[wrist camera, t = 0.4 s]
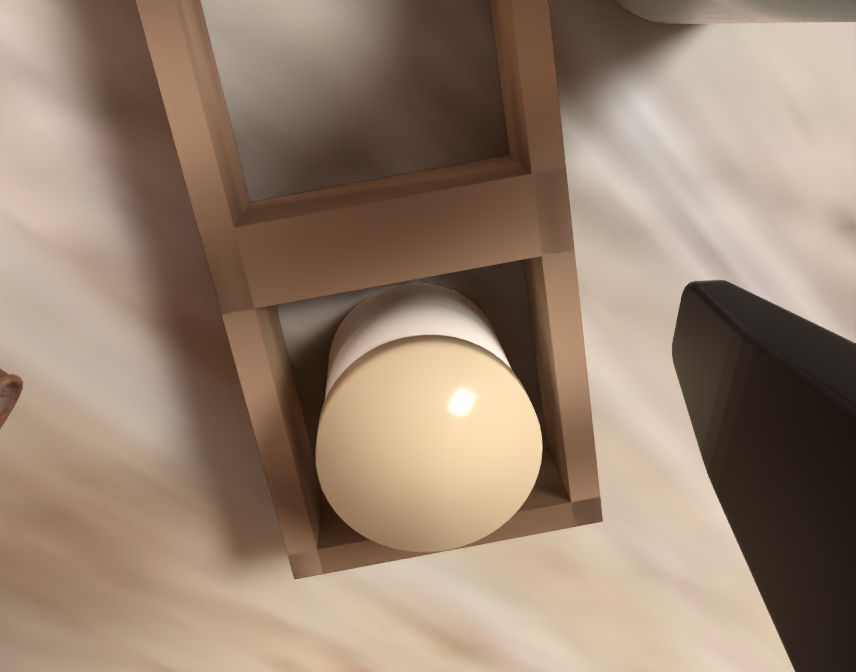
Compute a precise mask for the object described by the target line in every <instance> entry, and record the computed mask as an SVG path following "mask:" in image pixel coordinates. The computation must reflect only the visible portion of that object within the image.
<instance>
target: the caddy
mask: <svg viewBox="0 0 856 672" xmlns="http://www.w3.org/2000/svg"><path fill="white" fill-rule="evenodd" d="M135 1H136V4H137V8H138V11H139V15H140V19H141V22H142V26H143V30H144V33H145V37H146V41H147V44H148V48H149V52H150V55H151V59H152V62H153V66H154V70H155V73H156V77H157V81H158V84H159V88H160V92H161V95H162V99H163V103H164V106H165V110H166V113H167V117H168V121H169V124H170V128H171V132H172V135H173V139H174V143H175V146H176V150H177V154H178V157H179V161H180V164H181V168H182V172H183V175H184V179H185V183H186V186H187V190H188V194H189V197H190V201H191V205H192V208H193V212H194V215H195V219H196V223H197V226H198V230H199V234H200V237H201V241H202V245H203V248H204V252H205V256H206V259H207V263H208V266H209V270H210V274H211V277H212V281H213V285H214V288H215V292H216V296H217V299H218V303H219V306H220V310H221V314H222V317H223V321H224V325H225V328H226V332H227V336H228V339H229V343H230V347H231V350H232V354H233V357H234V361H235V365H236V368H237V372H238V376H239V379H240V383H241V387H242V390H243V394H244V398H245V401H246V405H247V408H248V412H249V416H250V419H251V423H252V427H253V430H254V434H255V438H256V441H257V445H258V449H259V452H260V456H261V459H262V463H263V467H264V470H265V474H266V478H267V481H268V485H269V489H270V492H271V496H272V500H273V503H274V507H275V510H276V514H277V518H278V521H279V525H280V529H281V532H282V536H283V540H284V543H285V547H286V551H287V554H288V558H289V561H290V565H291V569H292V572H293V576H294V579H299V578H305V577H310V576H315V575H321V574H326V573H331V572H337V571H342V570H347V569H353V568H358V567H363V566H369V565H374V564H379V563H384V562H390V561H395V560H400V559H406V558H411V557H416V556H422V555H427V554H432V553H438V552H443V551H436V552H413V551H404V550H399V549H394V548H390V547H387V546H384V545H381V544H378V543H376V542H374V541H372V540H370V539H368V538H366V537H364V536H363V535H361V534H360V533H358V532H356V531H355V530H354V529H352V528H351V527H350V526H349V525H348V524H346V523H345V522H344V521H343V520H342V519H341V518H340V516H339V515H338V514H337V513H336V512H335V511H334V509H333V508H332V506H331V505H330V503H329V502H328V500H327V498H326V496H325V494H324V492H323V491H322V490H321V486H320V482H319V478H318V474H317V470H316V466H315V462H314V458H313V454H312V449H311V445H310V441H309V437H308V433H307V429H306V425H305V421H304V417H303V413H302V409H301V405H300V401H299V397H298V393H297V389H296V385H295V381H294V377H293V373H292V369H291V365H290V361H289V357H288V353H287V349H286V345H285V341H284V337H283V333H282V328H281V324H280V320H279V316H278V312H277V308H276V305H278V304H283V303H288V302H294V301H299V300H305V299H310V298H316V297H321V296H327V295H332V294H338V293H343V292H348V291H354V290H359V289H365V288H370V287H376V286H381V285H387V284H392V283H398V282H403V281H409V280H414V279H419V278H425V277H430V276H436V275H441V274H447V273H452V272H458V271H463V270H469V269H474V268H479V267H485V266H490V265H496V264H501V263H507V262H512V261H518V260H523V262H524V269H525V277H526V285H527V293H528V300H529V308H530V316H531V324H532V332H533V339H534V347H535V355H536V363H537V370H538V378H539V386H540V394H541V402H542V409H543V417H544V425H545V433H546V440H547V448H548V449H546V450H542V459H541V465H540V469H539V473H538V476H537V479H536V481H535V484H534V487H533V488H532V490H531V492H530V494H529V496H528V498H527V499H526V500H525V502H524V503H523V505H522V506H521V507H520V509H519V510H518V511H517V512H516V513H515V514H514V515H513V516H512V517H511V518H510V519H509V520H508V521H507V522H506V523H504V524H503V525H502V526H501V527H500V528H498V529H497V530H495V531H494V532H492V533H490V534H489V535H487V536H485V537H483V538H481V539H479V540H477V541H475V542H473V543H470V544H467V545H465V546H462V547H458V548H454V549H459V548H464V547H470V546H475V545H480V544H486V543H491V542H496V541H502V540H507V539H512V538H518V537H523V536H528V535H533V534H539V533H544V532H549V531H555V530H560V529H565V528H571V527H576V526H581V525H587V524H592V523H597V522H603V519H602V509H601V500H600V490H599V481H598V471H597V461H596V452H595V442H594V433H593V423H592V414H591V404H590V394H589V385H588V375H587V366H586V356H585V347H584V337H583V327H582V318H581V308H580V299H579V289H578V280H577V270H576V260H575V251H574V241H573V232H572V222H571V213H570V203H569V194H568V184H567V174H566V165H565V155H564V146H563V136H562V127H561V117H560V107H559V98H558V88H557V79H556V69H555V60H554V50H553V40H552V31H551V21H550V12H549V2H548V0H490V5H491V13H492V20H493V28H494V36H495V44H496V52H497V59H498V67H499V75H500V83H501V90H502V98H503V106H504V114H505V122H506V129H507V137H508V145H509V153H510V155H507V156H502V157H496V158H491V159H485V160H480V161H474V162H469V163H463V164H458V165H452V166H447V167H441V168H436V169H430V170H425V171H419V172H413V173H408V174H402V175H397V176H391V177H386V178H380V179H375V180H369V181H364V182H358V183H353V184H347V185H342V186H336V187H331V188H325V189H320V190H314V191H309V192H303V193H298V194H292V195H287V196H281V197H276V198H270V199H265V200H259V201H254V202H250V199H249V195H248V191H247V187H246V183H245V179H244V175H243V171H242V167H241V163H240V159H239V155H238V151H237V147H236V143H235V139H234V135H233V131H232V127H231V123H230V119H229V115H228V111H227V107H226V103H225V99H224V95H223V90H222V86H221V82H220V78H219V74H218V70H217V66H216V62H215V58H214V54H213V50H212V46H211V42H210V38H209V34H208V30H207V26H206V22H205V18H204V14H203V10H202V6H201V2H200V0H135ZM454 549H450V550H454ZM444 551H448V550H444Z"/></svg>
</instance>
